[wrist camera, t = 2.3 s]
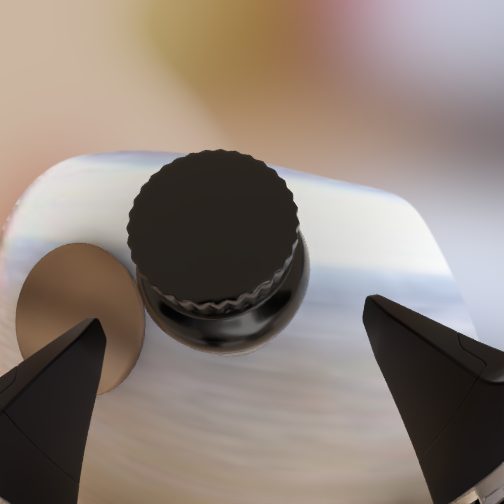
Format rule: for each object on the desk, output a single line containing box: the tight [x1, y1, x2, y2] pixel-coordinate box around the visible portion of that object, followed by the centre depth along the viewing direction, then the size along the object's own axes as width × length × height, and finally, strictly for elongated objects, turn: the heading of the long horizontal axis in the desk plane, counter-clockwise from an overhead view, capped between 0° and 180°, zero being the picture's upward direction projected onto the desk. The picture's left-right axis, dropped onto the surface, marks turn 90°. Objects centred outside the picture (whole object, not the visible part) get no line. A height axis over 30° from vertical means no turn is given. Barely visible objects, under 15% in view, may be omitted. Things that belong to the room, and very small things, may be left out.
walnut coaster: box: [16, 243, 145, 396], centre depth 17 cm, size 11×11×2 cm
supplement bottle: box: [127, 149, 310, 356], centre depth 13 cm, size 7×7×12 cm
